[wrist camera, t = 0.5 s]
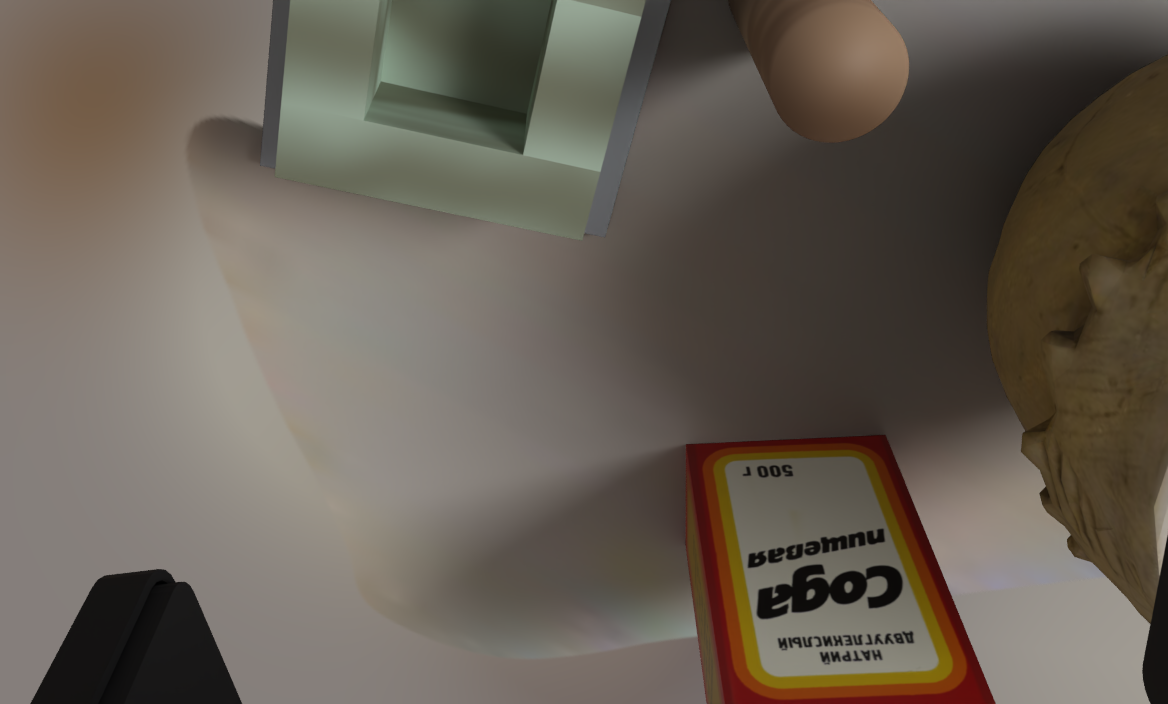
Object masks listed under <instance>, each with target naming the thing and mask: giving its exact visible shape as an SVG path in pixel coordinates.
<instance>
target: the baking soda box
mask: <svg viewBox="0 0 1168 704" xmlns="http://www.w3.org/2000/svg"><path fill="white" fill-rule="evenodd" d="M686 552H687V560H688V567H689V575H690V582H691V590H692V597H693V605H694V612H695V620H696V627H697V635H698V642H699V650H700V657H701V665H702V672H703V680H704V687H705V694H706V702H707V704H995V701H994V699H993V696H992V694H991V692H990V689H989V687H988V684H987V682H986V679H985V677H984V674H983V672H982V669H981V667H980V665H979V662H978V660H977V657H976V655H975V652H974V650H973V648H972V645H971V643H970V640H969V638H968V635H967V633H966V630H965V628H964V625H963V623H962V621H961V619H960V616H959V613H958V611H957V608H956V606H955V604H954V601H953V599H952V596H951V594H950V591H949V589H948V586H947V584H946V581H945V579H944V577H943V574H942V572H941V569H940V567H939V564H938V562H937V559H936V557H935V555H934V552H933V550H932V547H931V545H930V542H929V540H928V538H927V535H926V533H925V530H924V528H923V525H922V523H921V520H920V518H919V516H918V513H917V511H916V508H915V506H914V503H913V501H912V498H911V496H910V494H909V491H908V489H907V486H906V484H905V481H904V479H903V477H902V474H901V472H900V469H899V467H898V464H897V462H896V459H895V457H894V455H893V452H892V450H891V447H890V445H889V442H888V440H887V437H886V435H873V436H852V437H831V438H810V439H789V440H768V441H747V442H726V443H705V444H686Z"/></svg>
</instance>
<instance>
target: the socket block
mask: <svg viewBox="0 0 1168 704" xmlns="http://www.w3.org/2000/svg"><path fill="white" fill-rule="evenodd" d="M645 2H646V0H290V9H289V21H288V32H287V43H286V55H285V66H284V77H283V89H282V100H281V111H280V123H279V134H278V145H277V157H276V168H275V177H277V178H282V179H287V180H292V181H296V182H301V183H306V184H311V185H316V186H321V187H325V188H330V189H335V190H340V191H345V192H349V193H354V194H359V195H364V196H369V197H374V198H378V199H383V200H388V201H393V202H398V203H402V204H407V205H412V206H417V207H422V208H427V209H431V210H436V211H441V212H446V213H451V214H455V215H460V216H465V217H470V218H475V219H479V220H484V221H489V222H494V223H499V224H504V225H508V226H513V227H518V228H523V229H528V230H532V231H537V232H542V233H547V234H552V235H557V236H561V237H566V238H571V239H576V240H581V241H582V240H583V236H584V232H585V228H586V225H587V221H588V217H589V213H590V209H591V206H592V202H593V198H594V194H595V191H596V187H597V183H598V179H599V175H600V172H601V168H602V164H603V160H604V157H605V153H606V149H607V145H608V141H609V138H610V134H611V130H612V126H613V122H614V119H615V115H616V111H617V107H618V104H619V100H620V96H621V92H622V88H623V85H624V81H625V77H626V73H627V70H628V66H629V62H630V58H631V54H632V51H633V47H634V43H635V39H636V36H637V32H638V28H639V24H640V20H641V17H642V13H643V9H644V5H645Z"/></svg>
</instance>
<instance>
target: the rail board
mask: <svg viewBox="0 0 1168 704" xmlns="http://www.w3.org/2000/svg"><path fill="white" fill-rule="evenodd" d="M670 1H671V0H646V2H645V5H644V9H643V13H642V17H641V20H640V24H639V28H638V32H637V36H636V39H635V43H634V47H633V51H632V54H631V58H630V62H629V66H628V70H627V73H626V77H625V81H624V85H623V88H622V92H621V96H620V100H619V104H618V107H617V111H616V115H615V119H614V122H613V126H612V130H611V134H610V138H609V141H608V145H607V149H606V153H605V157H604V160H603V164H602V168H601V172H600V175H599V179H598V183H597V187H596V191H595V194H594V198H593V202H592V206H591V209H590V213H589V217H588V221H587V225H586V228H585V232H584V233H586V234H591V235H596V236H601V237H605V236H606V232H607V229H608V225H609V222H610V218H611V214H612V211H613V207H614V204H615V200H616V196H617V193H618V189H619V185H620V182H621V178H622V175H623V171H624V167H625V164H626V160H627V157H628V153H629V149H630V146H631V142H632V139H633V135H634V131H635V128H636V124H637V120H638V117H639V113H640V110H641V106H642V102H643V99H644V95H645V92H646V88H647V84H648V81H649V77H650V74H651V70H652V66H653V63H654V59H655V55H656V52H657V48H658V45H659V41H660V37H661V34H662V30H663V27H664V23H665V19H666V16H667V12H668V9H669V5H670ZM289 9H290V0H273V10H272V23H271V35H270V48H269V60H268V74H267V85H266V99H265V110H264V123H263V135H262V148H261V160H260V166H265V167H270V168H276V157H277V145H278V134H279V123H280V111H281V100H282V89H283V77H284V66H285V55H286V43H287V32H288V21H289Z"/></svg>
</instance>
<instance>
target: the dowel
mask: <svg viewBox="0 0 1168 704" xmlns="http://www.w3.org/2000/svg"><path fill="white" fill-rule="evenodd" d="M728 2H729V7H730V10H731V13H732V15H733V17H734V19H735V22H736V24H737V26H738V28H739V30H740V32H741V34H742V37H743V39H744V41H745V43H746V45H747V47H748V50H749V52H750V54H751V56H752V58H753V60H754V63H755V65H756V67H757V69H758V71H759V73H760V76H761V78H762V80H763V82H764V84H765V86H766V89H767V91H768V93H769V95H770V97H771V99H772V102H773V104H774V106H775V108H776V110H777V112H778V114H779V116H780V117H781V119H782V120H783V121H784V122H785V123H786V125H787V126H788V127H790V128H791V129H792V130H793V131H794V132H796V133H798V134H799V135H801V136H803V137H805V138H808V139H811V140H814V141H819V142H829V143H834V142H843V141H848V140H852V139H855V138H857V137H860V136H862V135H864V134H866V133H868V132H870V131H871V130H873V129H875V128H876V127H877V126H879V125H880V124H881V123H882V122H883V121H884V120H885V119H886V118H887V117H888V116H889V115H890V114H891V113H892V112H893V110H894V109H895V108H896V106H897V105H898V103H899V101H900V100H901V97H902V95H903V93H904V91H905V88H906V85H907V80H908V75H909V57H908V53H907V48H906V46H905V43H904V41H903V39H902V37H901V35H900V34H899V32H898V31H897V30H896V28H895V27H894V26H893V25H892V24H891V23H890V21H889V20H888V19H887V18H886V17H885V16H884V15H883V13H882V12H881V11H880V10H879V9H878V8H877V7H876V6H875V4H874V3H873V2H872V1H871V0H728Z"/></svg>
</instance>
